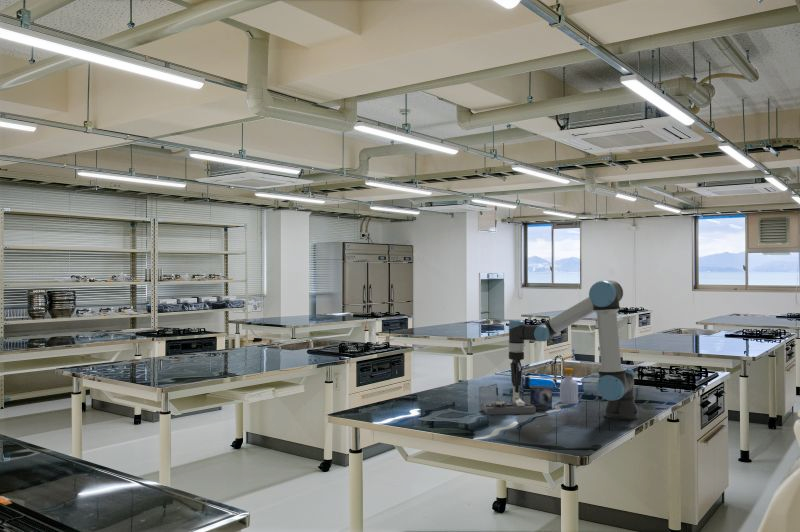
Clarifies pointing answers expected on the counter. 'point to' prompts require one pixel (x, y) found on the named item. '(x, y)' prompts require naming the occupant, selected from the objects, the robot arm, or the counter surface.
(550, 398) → the small box
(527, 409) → the power strip
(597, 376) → the aluminum foil
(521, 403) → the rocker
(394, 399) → the counter surface
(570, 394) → the soap bottle
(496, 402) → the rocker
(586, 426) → the counter surface
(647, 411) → the counter surface
